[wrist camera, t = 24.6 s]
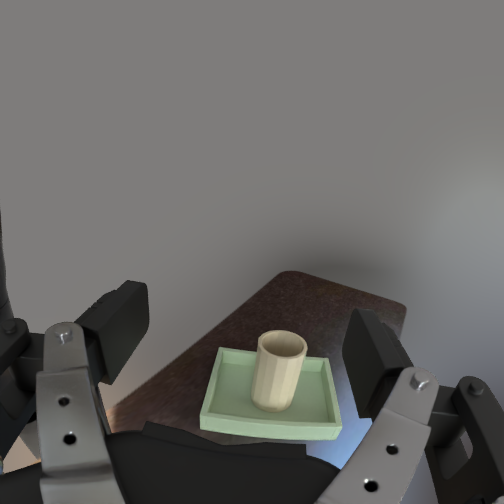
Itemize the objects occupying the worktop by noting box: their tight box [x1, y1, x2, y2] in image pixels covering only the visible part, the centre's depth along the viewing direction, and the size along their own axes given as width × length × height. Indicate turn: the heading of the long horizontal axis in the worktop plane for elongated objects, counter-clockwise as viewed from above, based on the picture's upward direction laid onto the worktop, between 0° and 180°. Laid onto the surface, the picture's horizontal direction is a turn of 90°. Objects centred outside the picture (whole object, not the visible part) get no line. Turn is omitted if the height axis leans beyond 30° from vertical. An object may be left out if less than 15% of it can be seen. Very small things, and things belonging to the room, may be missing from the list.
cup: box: [250, 330, 307, 413], centre depth 36 cm, size 6×6×10 cm
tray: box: [200, 347, 342, 440], centre depth 37 cm, size 18×15×3 cm
